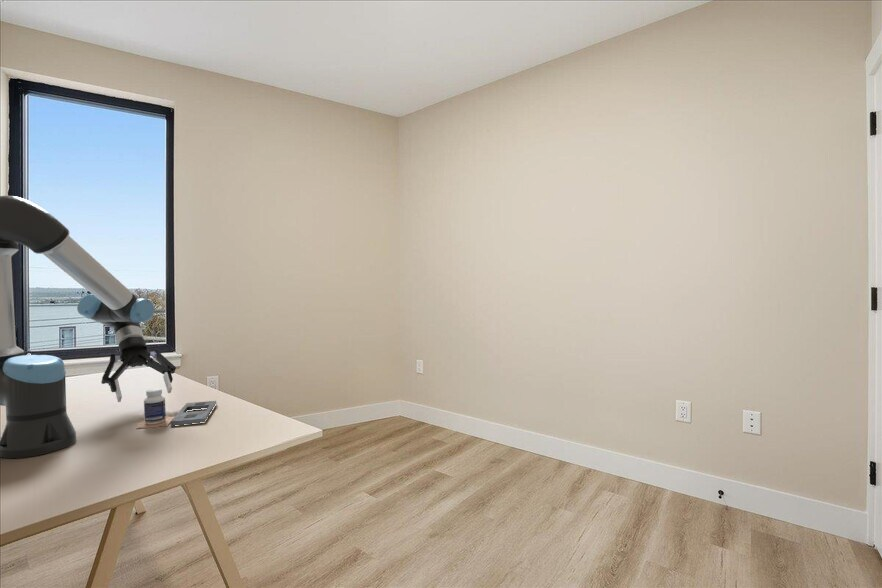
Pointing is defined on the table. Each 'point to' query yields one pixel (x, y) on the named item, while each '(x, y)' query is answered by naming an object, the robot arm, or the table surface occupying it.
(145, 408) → the pill bottle
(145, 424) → the coaster
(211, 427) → the table surface
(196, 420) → the holder
